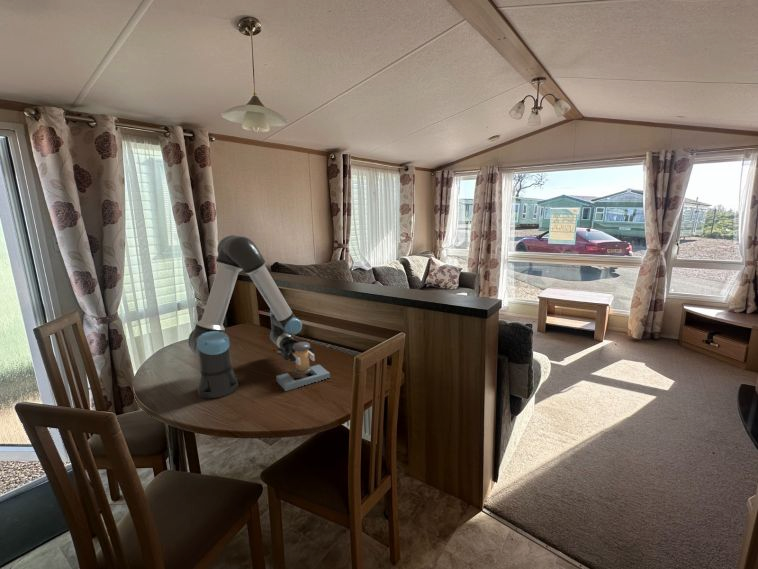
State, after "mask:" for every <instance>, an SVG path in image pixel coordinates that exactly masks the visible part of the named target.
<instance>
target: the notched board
mask: <svg viewBox="0 0 758 569" xmlns="http://www.w3.org/2000/svg"><path fill="white" fill-rule="evenodd" d="M309 374H311V376H306V377H303V378H302V377H301V378H300V379H296V380H295V379H294V378H293V377H292V375H290V374H289V373H288V372H286V373H282V374H278V375H275V376H276V377H275V378H276V382H277V383H278V385H279V386H280V387H281V388H282V389H283V390H284V392H289V391H291V390H295V389H298V387H299V388H301V386H302V387H304V385H306V386H309V385H312V384H311V383H313V384H315V383H314V382H316V383H319V382H322V381H321V380H323V381H325V380H324V379H326V380H328V379H327V378H330V379H331V372H330V371H328V370H327V369H325V368H324V367H323V366H322V365H321V364H315V365H312V366H311V372H310V373H309ZM312 374H313V375H312ZM318 381H319V382H318ZM308 384H309V385H308Z"/></svg>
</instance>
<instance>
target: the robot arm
mask: <svg viewBox="0 0 758 569" xmlns="http://www.w3.org/2000/svg"><path fill="white" fill-rule="evenodd" d="M216 250H217V256H216V260H215V263H216V265H217V269H216V273H215V276H214V278H213V283H212V286H211V288H210V292H209V294H208V297H207V298H208V299H207V302H206V304H205V307H204V311H203V314H202V317H201V319H200V320H199V321H197V322H196V323H195V327H194V328H193V330H192V331H191V332H190V334H189V335H188V341H187V342H188V347H189V349H190V350H191V351H192V353H193V354H195V356H196V357H197V358H198V363H199V371H200V377H199V381H198V385H197V396H199V397H200V398H203V399H218V398H222V397H225V396H228V395H230V394H232V393H234V392H235V391H236V390H238V388H239V381H238V378H237V377H236V374H235V372H234V370H233V366H232V356H231V343H230V342H231V341H230V338H229V335H228V334H227V333H225V329H226V328H225V327H224V325H223V324H224V321H225V317H226V314H227V311H228V308H229V304H230V303H231V302H230V300H231V298H232V295H233V292H234V289H235V285H236V282H237V280H238V276H239V273H240V272H242V271H243V273H244V274H246V275H248V276H249V278H250V279H251V281H252V282H253V284H254V286H255V287H256V288H257V290H258V292H259V293H260V295H261V296H262V298H263V300H264V301H265V302H266V304H267V306H268V308H269V309H270V310H269V317H270V324H271V325H270V326H271V332H270V333H269V338H270V341H271V342H272V343H273V344H274V345H276V346H277V354H278V355H280V356H281V357H282V358H283V359H284V360H285V361H290V362H295V364H296V363H297V364H298V365H301V361H300V358H299V357H298V356H297V355H296V354H295V350H293V344H295V343H298V341H297V339H295V338H294V337H293V336H294V335H297V334H299V333H300V332H301V330H302V327H303V323H302V321H301V320H300V319H299V318H297V317H296V315H295V314H294V312H293V311H292V309H291V307H290V306H289V304H288V302H287V301H286V298H285V297H284V295H283V294H282V292H281V290H280V289H279V287H278V285H277V283H276V282H275V280H274V279H273V277H272V275H271V273H270V272H269V270H268V268H267V267H266V260H265V259H264V257H263V255H262V253H261V251H260V250H259V248H258V247H257V245H256V243H254V241H252V239H250V238H249V237H246V236H241V235H233V234H231V235H227V236H225V237H222V238H221V239H220V240H219V242H218V244H217V249H216ZM291 335H293V336H291ZM308 353H309V360H311V361H312V362H315V361H316V358H315V352H314V347H312V346H311V345H310V348H309V349H308Z"/></svg>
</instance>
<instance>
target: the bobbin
mask: <svg viewBox="0 0 758 569" xmlns="http://www.w3.org/2000/svg"><path fill="white" fill-rule="evenodd" d="M297 342H298V341H297ZM310 346H311V343H309V342H307V341H301V342H298V343H295V344H293V350H295V352H294V354H296V355H297V356H298V357H299V358H300V361H301V365H298V364H297V363H296V362H295V367H294V372H293V373H294V374H295V375H298V376H301V375H302V376H304V375H309V374H311V373H310V372H311V367H312V366H311V365H310V358H309V353H308V349H309V348H310Z"/></svg>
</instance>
